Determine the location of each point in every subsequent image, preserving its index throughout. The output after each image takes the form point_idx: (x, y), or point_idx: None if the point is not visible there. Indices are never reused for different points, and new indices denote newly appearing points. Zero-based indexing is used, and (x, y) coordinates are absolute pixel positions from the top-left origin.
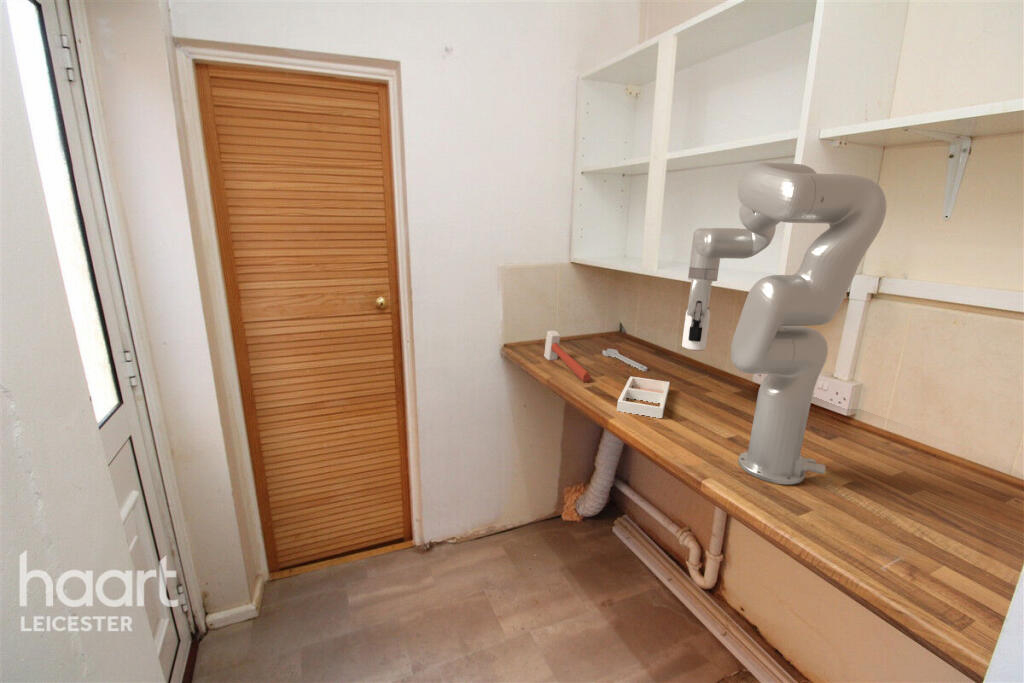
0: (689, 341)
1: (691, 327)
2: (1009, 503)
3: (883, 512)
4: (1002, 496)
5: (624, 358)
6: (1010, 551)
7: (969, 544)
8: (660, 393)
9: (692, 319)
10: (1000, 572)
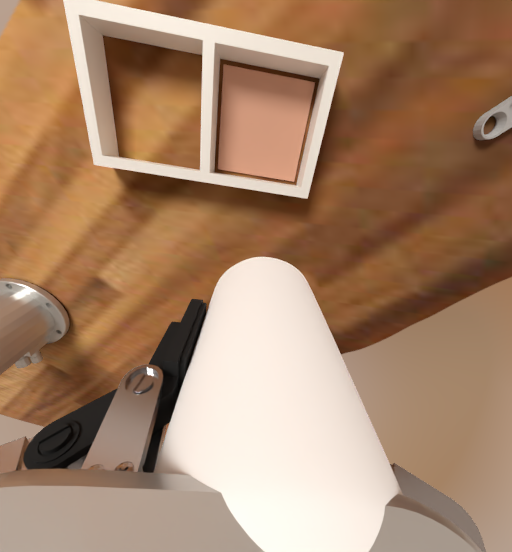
0: (213, 298)
1: (166, 363)
2: None
3: (16, 376)
4: None
5: None
6: (23, 420)
7: (11, 405)
8: (204, 164)
9: (94, 441)
10: None
